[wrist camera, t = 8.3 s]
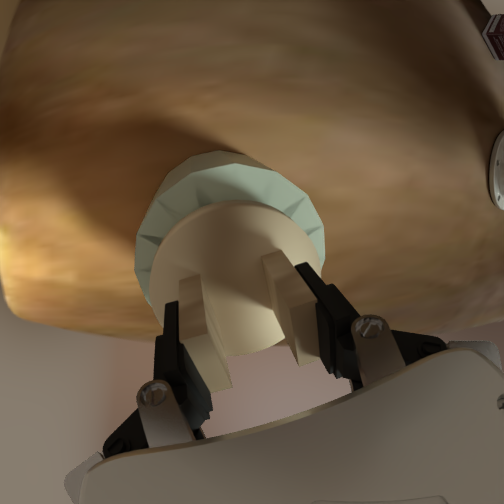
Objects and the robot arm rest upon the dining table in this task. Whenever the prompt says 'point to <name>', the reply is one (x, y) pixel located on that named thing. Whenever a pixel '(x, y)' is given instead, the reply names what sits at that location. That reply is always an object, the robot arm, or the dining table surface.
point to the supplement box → (495, 36)
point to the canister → (215, 190)
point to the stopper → (236, 285)
